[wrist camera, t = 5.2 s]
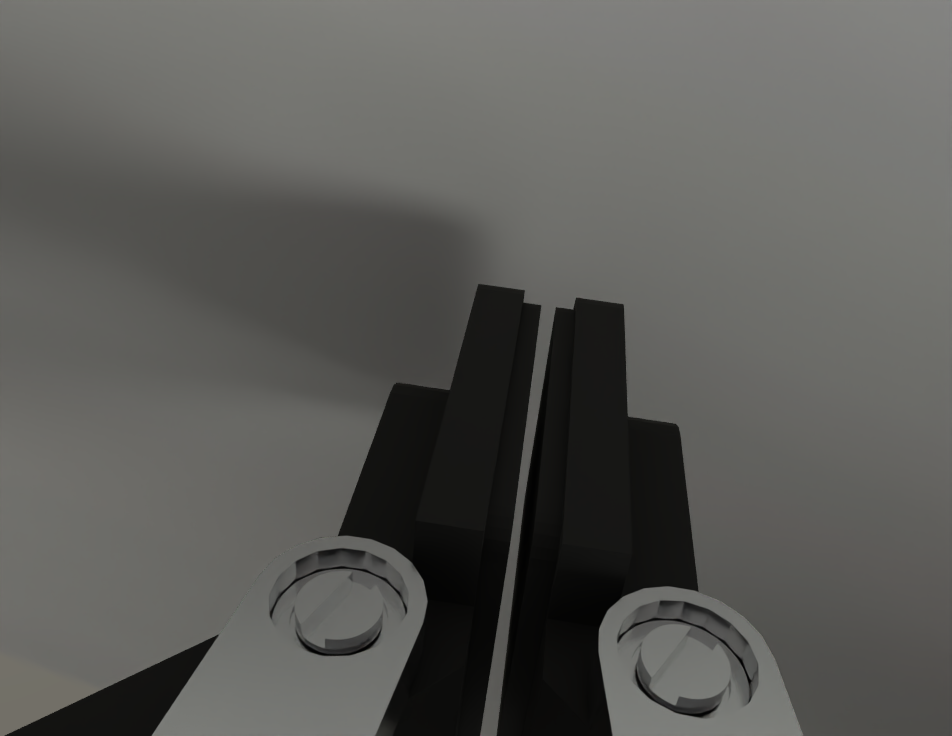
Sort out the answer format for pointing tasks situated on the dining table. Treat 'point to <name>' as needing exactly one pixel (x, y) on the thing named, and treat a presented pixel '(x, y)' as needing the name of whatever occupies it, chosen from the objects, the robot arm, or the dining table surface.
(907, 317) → the dining table surface
